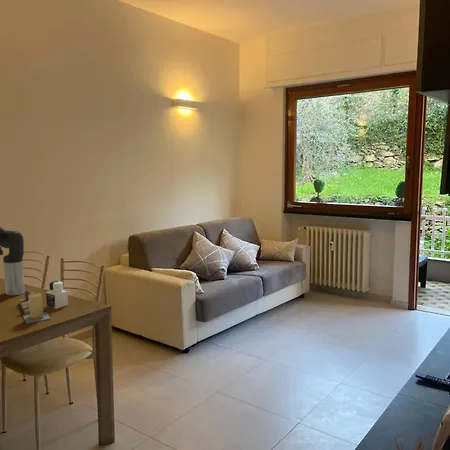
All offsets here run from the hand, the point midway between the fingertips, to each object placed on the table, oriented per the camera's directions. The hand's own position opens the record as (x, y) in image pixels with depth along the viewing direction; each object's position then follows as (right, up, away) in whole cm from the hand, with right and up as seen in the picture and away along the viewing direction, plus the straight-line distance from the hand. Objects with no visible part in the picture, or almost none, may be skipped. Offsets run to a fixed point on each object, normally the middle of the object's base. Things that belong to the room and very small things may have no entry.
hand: (2, 250), depth 208 cm
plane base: (+8, -28, +12) cm, 32 cm away
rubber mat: (+16, -30, -2) cm, 34 cm away
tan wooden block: (+16, -29, -2) cm, 34 cm away
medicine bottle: (+19, -28, +15) cm, 37 cm away
